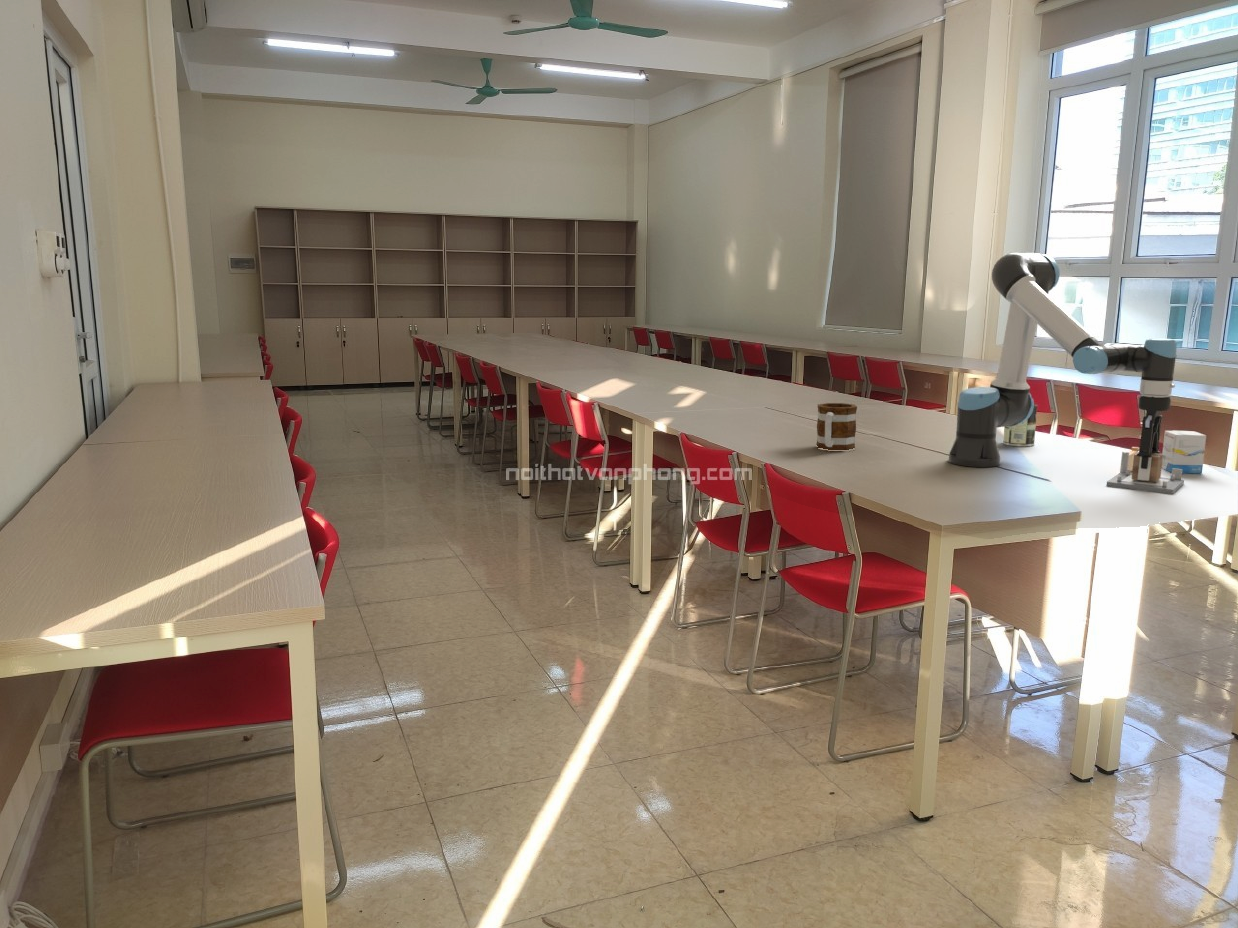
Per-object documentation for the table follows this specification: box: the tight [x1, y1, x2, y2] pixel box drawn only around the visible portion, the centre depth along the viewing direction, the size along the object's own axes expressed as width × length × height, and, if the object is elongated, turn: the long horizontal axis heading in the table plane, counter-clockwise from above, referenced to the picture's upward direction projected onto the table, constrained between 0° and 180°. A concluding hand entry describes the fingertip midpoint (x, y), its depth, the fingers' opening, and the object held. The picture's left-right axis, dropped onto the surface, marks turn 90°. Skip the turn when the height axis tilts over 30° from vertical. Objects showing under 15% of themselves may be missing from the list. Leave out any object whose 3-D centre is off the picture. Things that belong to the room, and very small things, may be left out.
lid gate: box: [1127, 446, 1140, 473], centre depth 267 cm, size 12×2×6 cm, turn 139°
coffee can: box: [1002, 403, 1039, 447], centre depth 313 cm, size 10×10×14 cm
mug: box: [815, 402, 858, 450], centre depth 304 cm, size 20×14×15 cm
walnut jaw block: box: [1131, 451, 1163, 482], centre depth 249 cm, size 6×6×7 cm
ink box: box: [1161, 430, 1207, 474], centre depth 267 cm, size 8×8×12 cm
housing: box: [1106, 451, 1185, 495], centre depth 250 cm, size 16×18×7 cm
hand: (1145, 477), depth 249 cm, fingers closed on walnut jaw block, 6 cm apart
